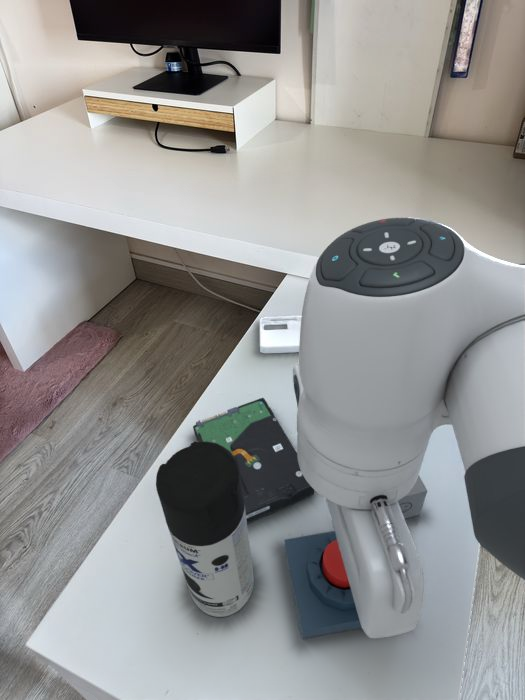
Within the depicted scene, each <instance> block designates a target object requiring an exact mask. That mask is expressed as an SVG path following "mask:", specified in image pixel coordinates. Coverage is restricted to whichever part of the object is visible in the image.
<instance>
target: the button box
mask: <svg viewBox="0 0 525 700" xmlns="http://www.w3.org/2000/svg"><path fill="white" fill-rule="evenodd" d="M336 540H337V538H336V535H335V531H334V530H333V531H332V530H331V531H326V532H321V533H320V532H319V533H315V534H309V535H302V536H298V537H292V538H286V539H284V541H283V542H284V553H285V558H286V563H287V568H288V573H289V578H290V583H291V588H292V593H293V599H294V603H295V609H296V614H297V620H298V623H299V629H300V634H301V639H302V640H305V639H309V638H310V639H311V638H314V637H320V636H325V635H331V634H336V633H341V632H346V631H351V630H358V629H362V627H361V624H360V620H359V617H358V613H357V609H356V606H355V602H354V599H353V595H352V591H351V588H350V587H348V588H342V587H338V586H335V585H334V584H332V583H331V582H330V581H329V580H328V579H327V578H326V576H325V574H324V572H323V567H322V564H323V554H324V551H325V549H326V547H327V546H328V545H329V544H330V543H332V542H333V541H336Z"/></svg>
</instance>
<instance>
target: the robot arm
mask: <svg viewBox="0 0 525 700" xmlns="http://www.w3.org/2000/svg"><path fill="white" fill-rule="evenodd" d="M301 311H302V312H301V316H302V318H301V328H300V341H299V352H298V363H297V364H294V365H293V369H292V383H293V391H294V395H295V400H296V406H297V410H296V411H297V412H296V433H297V434H296V435H297V436H296V437H297V438H296V439H297V440H296V452H297V458H298V464H299V467H300V470H301V472H302V474H303V476H304V478H305V479H306V481H307V482H308V483H309V485H310V486H311V487H312V488H313V489H314V490H315V491H314V492H315V493H317V494H318V495H320V496H321V497H323V498H325V501H326V504H327V508H328V512H329V516H330V518H331V524H332V528H333V531H335V535H336V538H337V542H338V546H339V550H340V552H341V555H342V559H343V563H344V566H345V570H346V573H347V577H348V581H349V584H350V588H351V591H352V595H353V599H354V602H355V606H356V609H357V613H358V617H359V620H360V624H361V627H362V628H361V629H362V630H363V632H364V634H365V635H366V636H367V637H368V638H370V639H383V638H388V637H394V636H398V635H403V634H406V633H409V632H411V631H413V630H415V628H416V627H417V625H418V622H419V618H420V615H421V611H422V606H423V600H424V594H425V576H424V575H425V574H424V569H423V565H422V562H421V558H420V555H419V552H418V549H417V547H416V544H415V542H414V539H413V537H412V534H411V532H410V529H409V527H408V524H407V521H406V519H404V516H403V514H402V511H401V508H400V506H399V503H398V501H399V500H400V499H402V498H403V497H404V496H405V495H407V494H408V493H409V491H410V490H411V489H412V488H413V486H414V484H415V483H416V481H417V478H418V475H419V476H420V472H421V468H422V465H423V463H424V459H425V456H426V452H427V449H428V446H429V442H430V439H431V436H432V435H433V433H434V431H435V430H436V429H437V428H439V427H441V426H446V425H447V426H448V425H450V426H451V427H452V429H453V434H454V438H455V440H456V444H457V447H458V451H459V454H460V458H461V462H462V465H463V469H464V476H463V479H464V484H465V490H466V495H467V500H468V506H469V507H468V508H469V512H470V517H471V524H472V529H473V534H474V538H475V540H476V541H477V542H478V544H479V545H480V546H482V548H483V549H485V550H486V551H487V552H488V553H489V554H490V555H491V556H492V557H493V558H495V560H497V561H498V562H500V564H502V565H503V566H505V567H506V568H507V569H508V570H510V571H511V572H512V573H514V574H516V576H518V577H519V578H521V579H523V580H524V581H525V263H513V262H509V261H505V260H501V259H498V258H496V257H494V256H490V255H488V254H486V253H484V252H482V251H480V250H478V249H476V248H475V247H473V246H472V245H470V244H469V243H468V242H467V241H466V240H464V238H463V237H462V236H461V235H460V234H459V233H457V232H456V231H455V230H454V229H453V228H451V227H449V226H447V225H445V224H442V223H439V222H437V221H433V220H430V219H425V218H418V217H389V218H382V219H378V220H373V221H369V222H366V223H363V224H360V225H358V226H355V227H353V228H351V229H349V230H347V231H345V232H344V233H343V234H341V235H339V236H338V237H336V238H335V239H334V240H333V241H332V242H331V243H330V244H329V245H328V246H326V248H325V249H324V250H323V252H322V253H321V254H320V256H319V257H318V259H317V261H316V262H315V264H314V266H313V268H312V270H311V273H310V276H309V279H308V282H307V286H306V290H305V293H304V298H303V305H302V310H301Z"/></svg>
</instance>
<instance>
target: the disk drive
mask: <svg viewBox="0 0 525 700" xmlns="http://www.w3.org/2000/svg"><path fill="white" fill-rule="evenodd" d="M192 428H193V432H194V436H195V439H196V442H199V441H203V442H213V443H217V444H219V445H221V446H223V447H225V448H226V449H228V450H229V451H230V452H231V453H232V455H233V456H234V457H235V459H236V461H237V463H238V466H239V471H240V478H241V484H242V490H243V496H244V503H245V512H246V520H247V524H249V523H251V522H254V521H257V520H258V519H260V518H263V517H265V516H267V515H270V514H273V513H275V512H276V511H279V510H282V509H283V508H287V507H288V506H291V505H293V504H296V503H298V502H300V501H302V500H305V499H306V498H310V497H311V496H314V495H315V492H316V491H315V490H314V489H313V488H312V487H311V486H310V485H309V483H308V482H307V481H306V479H305V478H304V476H303V474H302V472H301V470H300V467H299V464H298V458H297V450H296V449H295V447H294V445H293V444H292V443H291V440H290V439H289V437H288V435H287V434H286V432H285V430H284V429H283V427H282V425H281V424H280V422H279V420H278V419H277V417H276V415H275V414H274V411H273V409H272V408H271V407H270V406H269V404H268V402H267V400H266V399H265V398H264V397H260V398H258V399H255V400H252V401H249V402H247V403H244V404H241V405H239V406H235V407H231V408H229V409H227V412H226V411H225V412H222V413H218V415H217V414H215V415H213V416H211V417H208V418H205V419H203V420H200V419H199V420H197V421H195V424H194V425H193V426H192Z"/></svg>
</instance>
